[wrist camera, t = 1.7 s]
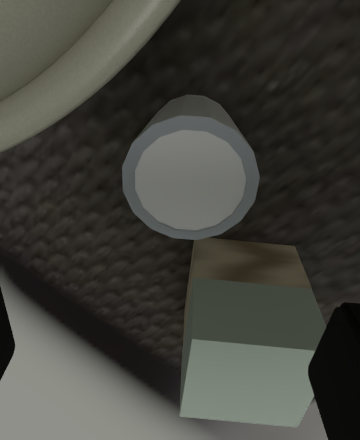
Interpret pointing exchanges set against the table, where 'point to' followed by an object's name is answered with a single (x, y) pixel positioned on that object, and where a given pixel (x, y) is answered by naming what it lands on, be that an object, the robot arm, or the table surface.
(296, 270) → the tower base
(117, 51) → the canister
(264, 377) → the tower top
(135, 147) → the shot glass
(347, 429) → the robot arm
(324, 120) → the table surface
